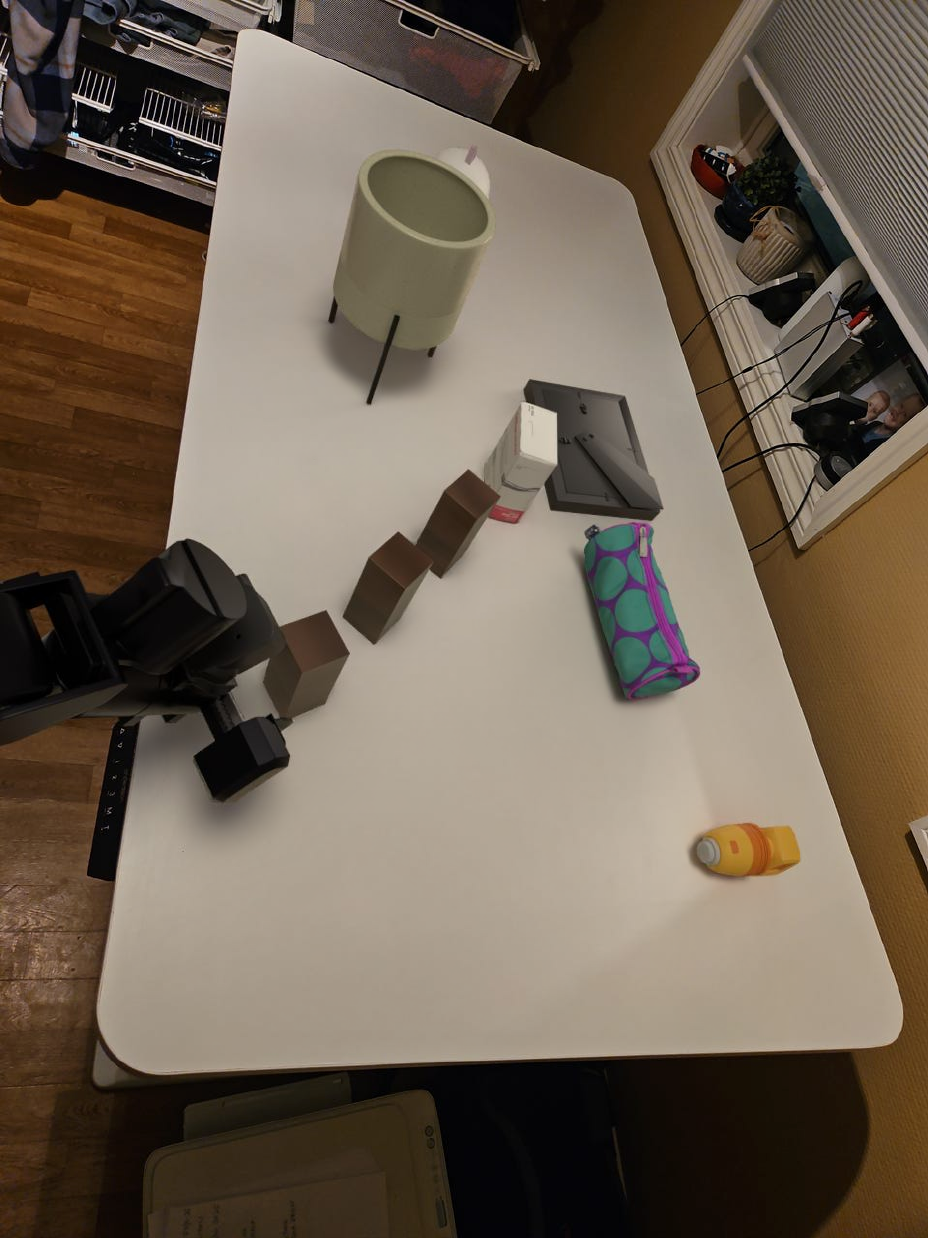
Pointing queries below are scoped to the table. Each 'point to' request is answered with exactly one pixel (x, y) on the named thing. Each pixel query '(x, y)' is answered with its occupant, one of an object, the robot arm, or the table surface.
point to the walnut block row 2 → (456, 521)
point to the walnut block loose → (305, 665)
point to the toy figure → (749, 850)
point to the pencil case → (637, 611)
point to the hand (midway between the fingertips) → (265, 676)
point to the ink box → (522, 460)
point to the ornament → (467, 165)
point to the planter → (410, 251)
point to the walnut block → (386, 587)
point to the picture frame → (595, 454)
